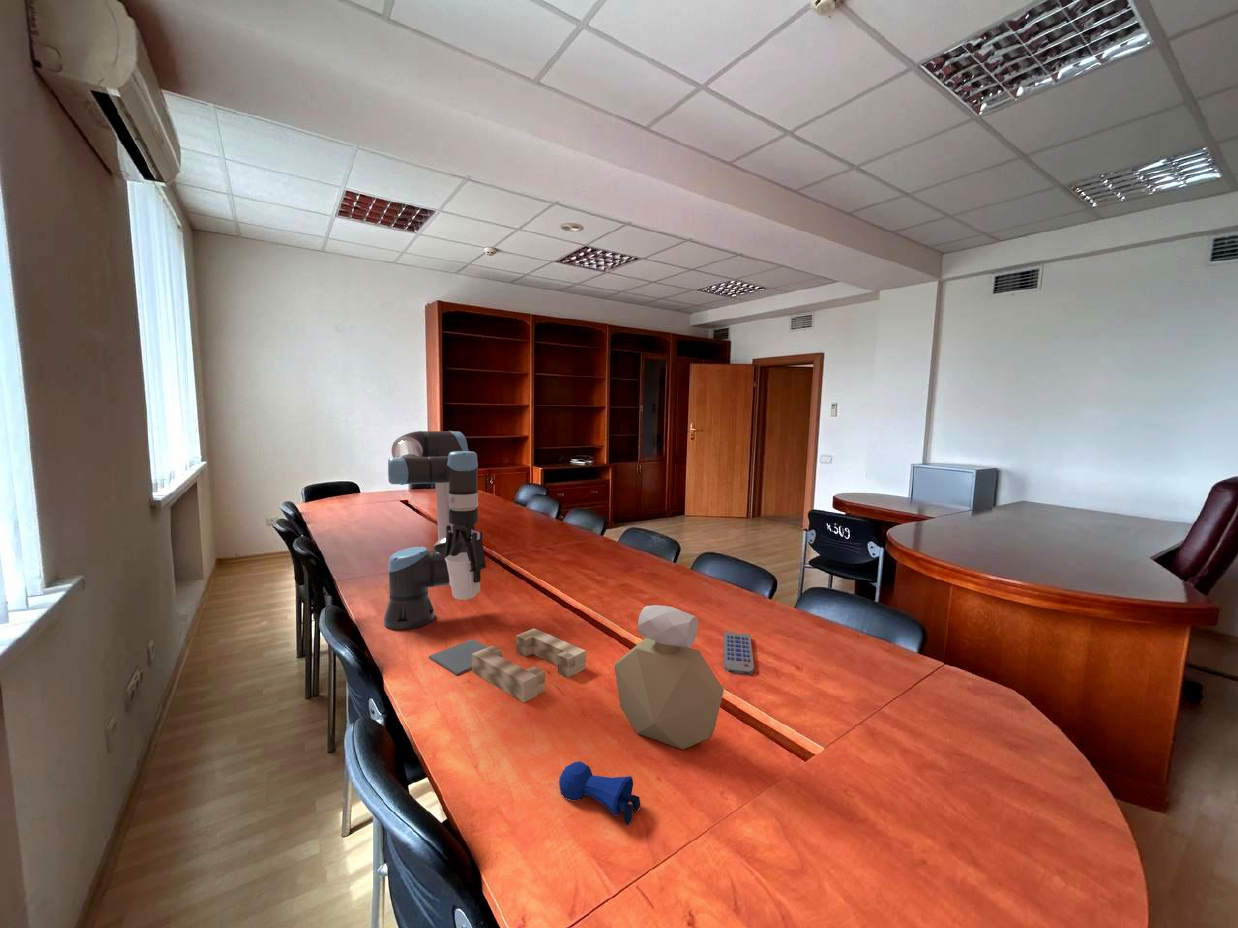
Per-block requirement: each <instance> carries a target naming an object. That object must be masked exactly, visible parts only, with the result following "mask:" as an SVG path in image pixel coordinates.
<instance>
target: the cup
mask: <svg viewBox="0 0 1238 928" xmlns="http://www.w3.org/2000/svg"><path fill="white" fill-rule="evenodd" d="M445 560H446V563H447V568H448V573H449V578H450V583H451V586H450V588H451V593H452V597H453V598H454V600H460V601H462V600H463V601H464V600H465V601H466V600H470V599H472V598H474V597H476V595H477V594H473V595H470V571H469V570H471V565H470V563H471V562H469V558H468V555H467V552H463V553H459V554H458V555H456V556H452V555H449V556H447V557H446V558H445Z"/></svg>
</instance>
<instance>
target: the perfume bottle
mask: <svg viewBox="0 0 1238 928" xmlns="http://www.w3.org/2000/svg"><path fill="white" fill-rule="evenodd" d="M637 621H638V622H637V631H638V633H639V635H640V636H643V637H644V639H642V640H641V641H640V642H638V644H636V645H635V646H633V648H631V649H630V650H629V651H628V652H627V653H626V654H624V655H623V656H622V657H620V659H618V660H617V661H616V662H615V663H613V666H614V673H615V679H616V680H615V681H616V685H617V693H618V700H619V706H620V707H619V708H620V709H621V711H622V712H623V714H624V715H625V717H626V719H627V720H628V722H629V723H630V724H631V726H632V728H633V729H634V731H635V732H636V734H638V735H641V736H643V737H647V738H649V739H652V740H654V741H658V742H660V743H663V744H665V745H669V746H671V747H674V748H677V749H680V750H684V751H685V750H686V749H688V748H691V747H693V746H695V745H696V744H699V743H701V742H703V741H705V740H707V739H709V738H711V737H712V735H713V733H714V731H715V729H716V725H717V720H718V716H719V712H720V707H721V704H722V699H723V695H724V691H725V690H724V688H723V686H722V684H721V682H720V681H719V680H718V678H717V676H716V675H715V674H714V672H713V670H712V669H711V668H710V666H709V664H708V662H707V661H706V660H705V658H704V656H703V655H702V653H701V651H700V650H699V649H697V648H691V647H692V646H693V645H694V643H695V642H696V639H697V635H698V629H699V622H698V618H697V616H696V615H693V614H691V613H688V612H685V611H683V610H681V609H678V608H675V607H673V606H668V605H659V604H657V605H646V606H644V607H643V609H641V610H640V614H639V617H638V620H637Z"/></svg>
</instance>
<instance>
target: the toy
mask: <svg viewBox="0 0 1238 928" xmlns="http://www.w3.org/2000/svg"><path fill="white" fill-rule="evenodd" d="M558 781H559V782H558V784H559V790H560V794H561V795H563V796H564V797H565V798H564V797H563V796H562V797H563V798H564V799H566V798H567V799H570V800H577V801H579V800H578V799H580V800H581V799H582V798H584V796H586V795H587V796H588V797H591V798H592V799H594V800H595V801H597V802H599V803H600V804H601V805H603V806H604V807H605V808H606V809H607V810H608V811H610V813H612V815H613V816H614V817H617V816H619V815H621V814H622V811H623V813H624V814H623V820H624V822H625V824H626V825H627V824H629V823H630V824H631V822H632V818H633V812H634V811H635V810H636V811H638V812H639V810H640V809H641V799H640V798H641V797H640V796H638V795H635V794H633V788H634V780H633V777H632V776H631V775H627V776H616V777H609V776H601V775H593V773H592V769H591V768H590V766H589V765H588V764H586V763H585V762H583V761H579V760H577V761H574V762H572V763H570V764H568V765H566V766H565V767H564V769H563V770H562V772H561V774H560V775H559V779H558ZM567 799H566V800H567ZM570 800H569V801H570ZM630 803H631V804H630ZM639 808H640V809H639ZM638 809H639V810H638ZM636 811H635V812H636ZM630 824H629V825H630Z"/></svg>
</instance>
